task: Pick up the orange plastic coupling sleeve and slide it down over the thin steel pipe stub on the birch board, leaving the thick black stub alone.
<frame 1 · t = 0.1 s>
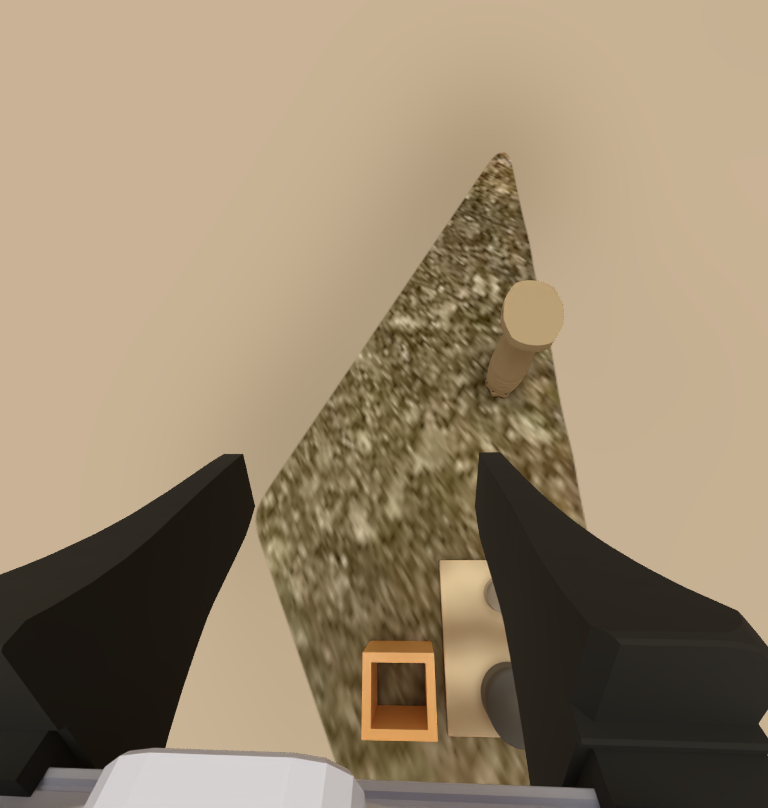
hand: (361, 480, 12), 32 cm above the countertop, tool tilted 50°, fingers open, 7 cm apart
handle: (498, 387, 48), on the countertop
sleeve: (401, 676, 38), on the countertop
fitting board: (502, 640, 38), on the countertop
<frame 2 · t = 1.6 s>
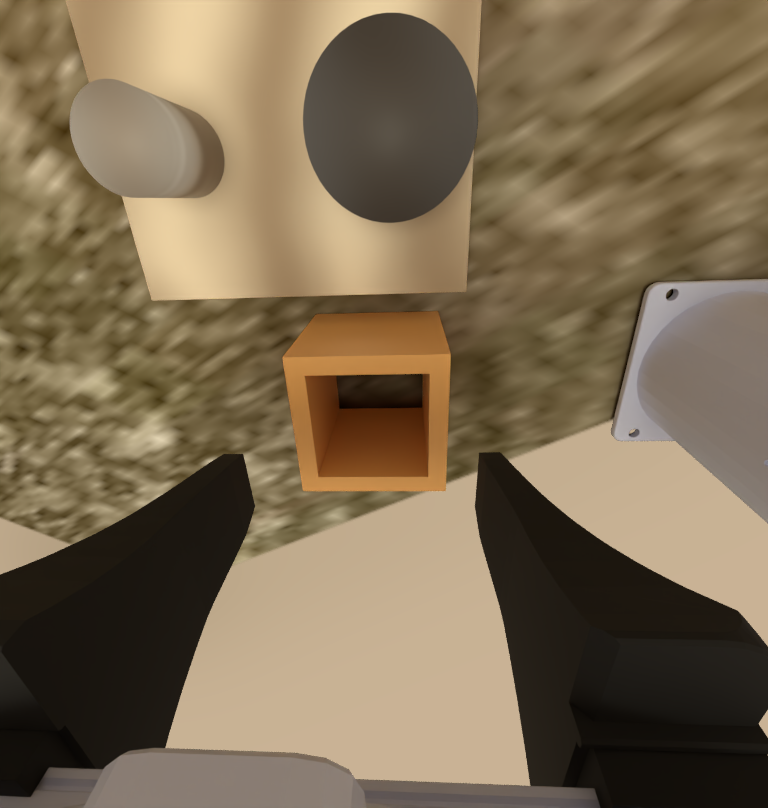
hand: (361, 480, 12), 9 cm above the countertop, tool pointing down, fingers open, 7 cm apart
sleeve: (379, 369, 21), on the countertop
fitting board: (295, 152, 17), on the countertop
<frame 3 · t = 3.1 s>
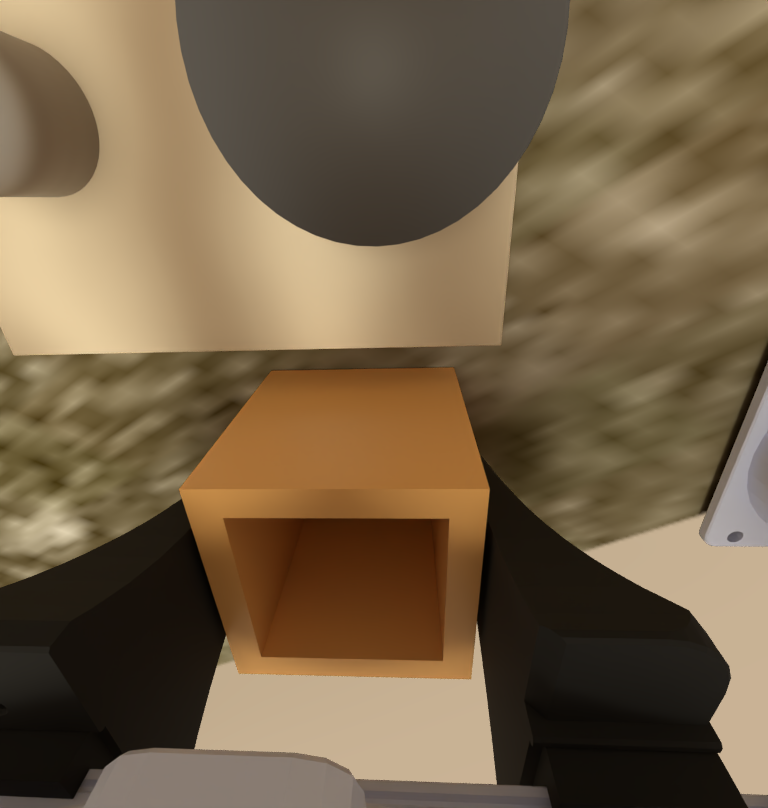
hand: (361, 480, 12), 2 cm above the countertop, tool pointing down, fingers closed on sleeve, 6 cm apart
sleeve: (366, 446, 14), on the countertop, touching gripper
fitting board: (224, 123, 10), on the countertop
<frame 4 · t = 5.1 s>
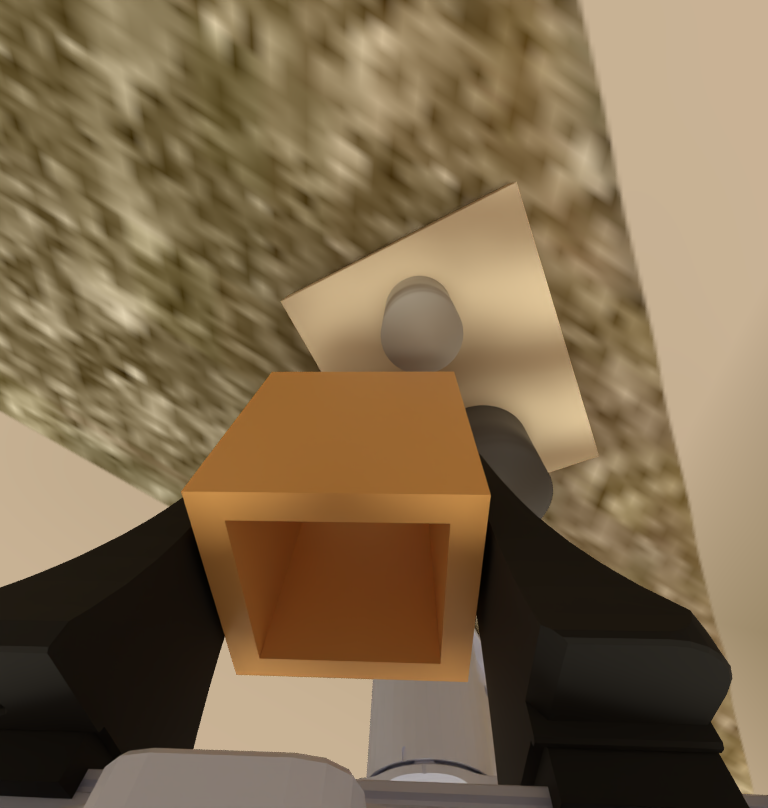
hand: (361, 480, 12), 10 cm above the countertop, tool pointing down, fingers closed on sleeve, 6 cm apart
sleeve: (365, 448, 14), point 8 cm above the countertop, touching gripper
fitting board: (448, 374, 21), on the countertop
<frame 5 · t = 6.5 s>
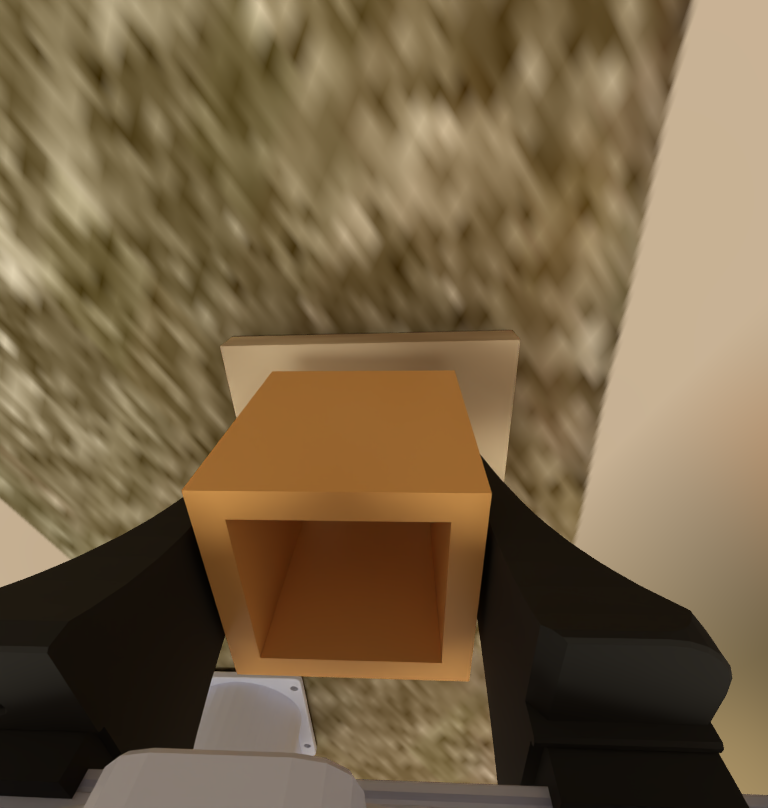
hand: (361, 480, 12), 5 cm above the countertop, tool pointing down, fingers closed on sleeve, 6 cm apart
sleeve: (366, 448, 14), point 3 cm above the countertop, touching gripper
fitting board: (377, 478, 19), on the countertop
when the fingers open (4 cm above the countertop, at t = 7.4 s): sleeve drops 1 cm, resting on fitting board.
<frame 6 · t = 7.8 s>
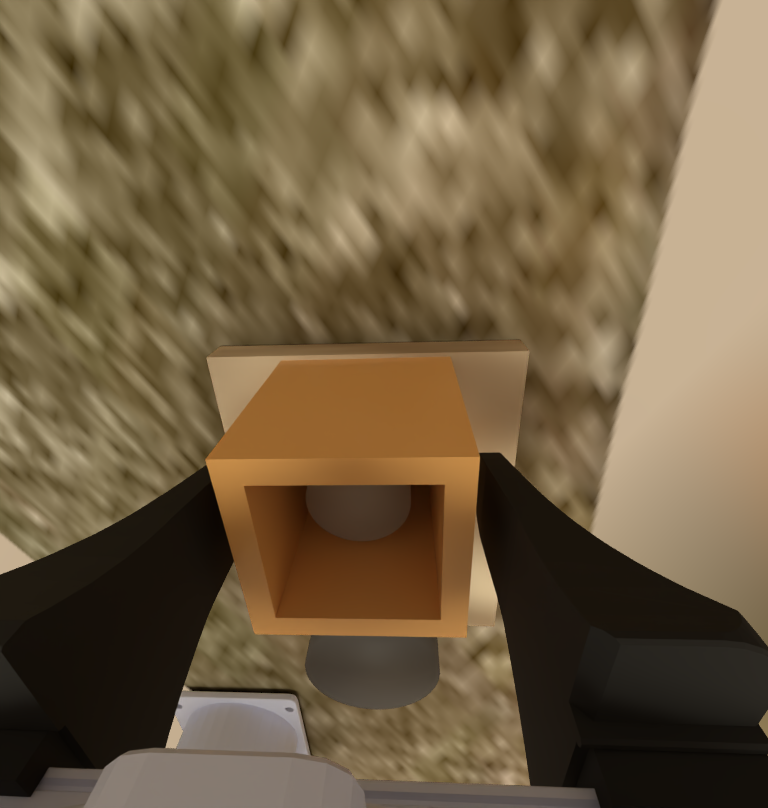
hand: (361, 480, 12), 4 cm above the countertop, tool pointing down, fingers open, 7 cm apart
sleeve: (369, 432, 15), point 1 cm above the countertop, touching fitting board
fitting board: (375, 495, 18), on the countertop
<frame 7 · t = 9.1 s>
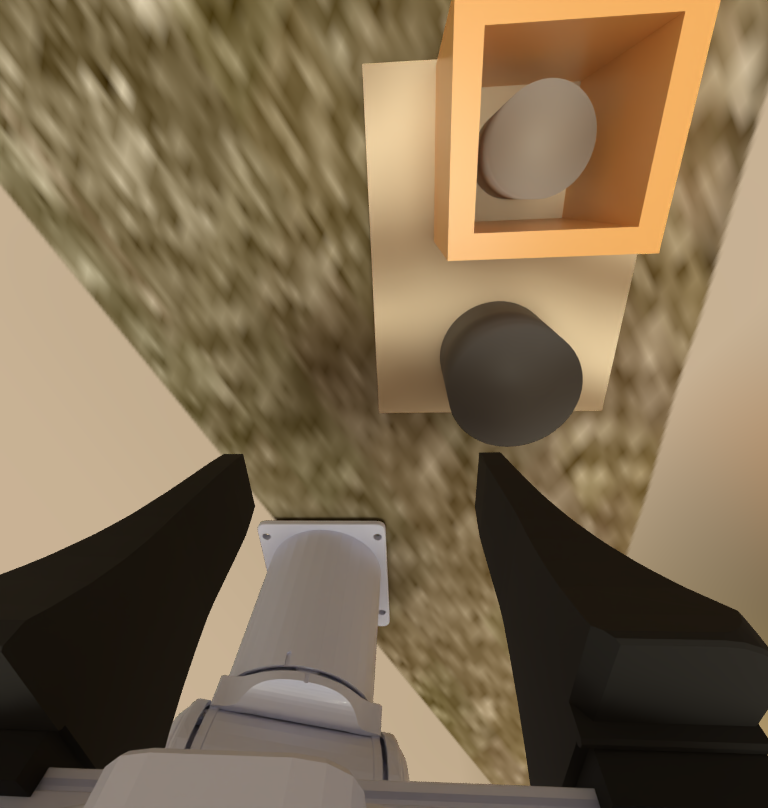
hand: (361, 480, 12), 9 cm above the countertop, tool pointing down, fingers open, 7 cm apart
sleeve: (511, 156, 16), point 1 cm above the countertop, touching fitting board
fitting board: (495, 261, 18), on the countertop
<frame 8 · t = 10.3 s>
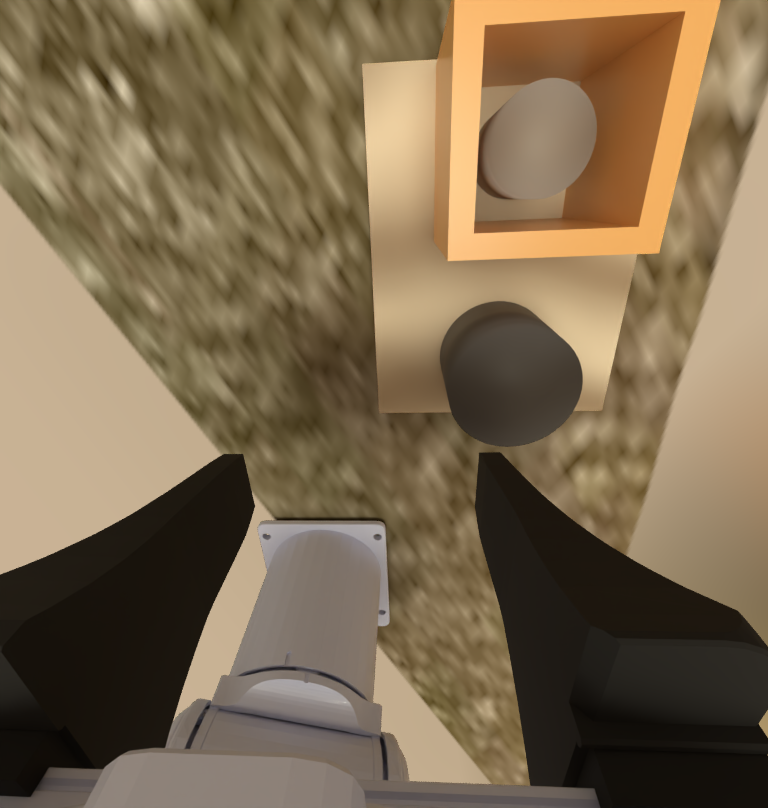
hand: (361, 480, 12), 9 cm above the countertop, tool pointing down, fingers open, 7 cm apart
sleeve: (511, 156, 16), point 1 cm above the countertop, touching fitting board
fitting board: (495, 261, 18), on the countertop
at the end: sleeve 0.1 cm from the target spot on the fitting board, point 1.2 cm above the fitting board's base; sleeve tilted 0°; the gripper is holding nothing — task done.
